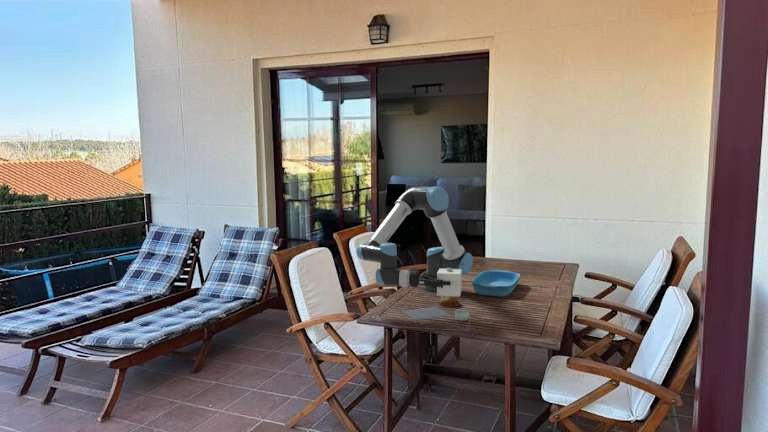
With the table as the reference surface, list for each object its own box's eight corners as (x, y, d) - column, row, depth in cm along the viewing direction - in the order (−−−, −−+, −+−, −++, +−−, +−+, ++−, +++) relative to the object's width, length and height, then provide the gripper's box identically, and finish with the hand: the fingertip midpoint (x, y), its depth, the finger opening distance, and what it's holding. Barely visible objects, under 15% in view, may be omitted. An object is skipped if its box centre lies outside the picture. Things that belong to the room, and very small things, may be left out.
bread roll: (449, 308, 257) (443, 293, 258) (465, 303, 250) (459, 288, 252) (438, 313, 249) (432, 298, 250) (454, 308, 243) (448, 292, 244)
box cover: (439, 289, 233) (439, 265, 232) (461, 290, 231) (461, 266, 230) (437, 295, 224) (436, 270, 222) (459, 296, 221) (460, 271, 220)
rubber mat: (435, 307, 246) (435, 306, 246) (450, 315, 234) (450, 314, 234) (401, 312, 239) (401, 311, 239) (415, 321, 226) (415, 320, 226)
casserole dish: (510, 300, 258) (510, 286, 257) (467, 296, 267) (467, 282, 266) (523, 284, 291) (523, 271, 290) (484, 280, 300) (484, 268, 300)
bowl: (463, 317, 231) (463, 308, 230) (471, 321, 225) (471, 312, 225) (452, 319, 228) (452, 310, 228) (459, 323, 223) (459, 313, 222)
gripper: (413, 280, 242) (461, 282, 237) (405, 292, 220) (457, 295, 215) (413, 265, 241) (461, 266, 236) (405, 275, 219) (457, 277, 214)
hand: (459, 280), depth 226 cm, fingers closed on box cover, 10 cm apart
